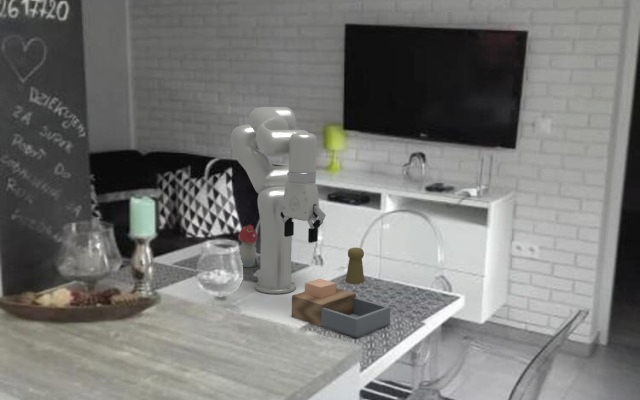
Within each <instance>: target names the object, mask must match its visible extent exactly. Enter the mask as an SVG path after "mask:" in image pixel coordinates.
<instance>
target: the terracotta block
mask: <svg viewBox="0 0 640 400" xmlns="http://www.w3.org/2000/svg"><path fill="white" fill-rule="evenodd" d="M336 286H337V283H336V282H333V281H329V280H325V279H322V278H317V279H313V280H311V281H306V282H304V292H305V294H309V295H312V296H315V297H319V298H323V297H326V296H329V295H333V294H336V288H337V287H336Z"/></svg>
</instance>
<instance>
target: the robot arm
mask: <svg viewBox="0 0 640 400" xmlns="http://www.w3.org/2000/svg"><path fill="white" fill-rule="evenodd" d="M296 121H297V118H296V115H295V113H294V111H293V109H291V108H289V107H287V106H259V107H256V108H254V109H253V110H252V111H251V112H250V114H249V116H248V122H249V124H242V125H239V126H236V127H235V128H234V129H233V130H232V132H231V135H230V145H231V149H232V152H233V155H234V157H235V159H236V160H237V162H238V164H239V165H240V166H241V167H242V168H243V169H244V171H245V172H246V174H247V176H248V178H249V180H250V183H251V184H252V186H253V188H254V190H255V192H256V193H257V194H258V195H257V209H258V214H259V222H260V223H259V225H260V230H259V231H260V248H259V250H260V253H259V255H260V256H259V257H260V260H259V261H260V267H259V269H257V270H256V271H255V272H254V273H253V277H254V278H257V281H256V283H255V284H254V288H255V290H257V291H258V292H260V293H264V294H271V295H272V294H274V295H276V294H277V295H278V294H279V295H281V294H286V293H291V292H293V291H294V290H296V288H297V285H296V283H295V282H294V281H292V239H293V238H292V237H294V232H295V231H294V230H295V229H294V227H295V223H294V222H295V221H293V220H299V221H303V222H305V221H307V224H308V225H309V228H308V234H307V237H308V239H307V240H308V243H309V244H312V243H315V242H318V239H319V238H318V237H319V236H318V234H319V228H320V227H321V225H322V224H323V223H324V220H325V218H326V216H327V215H326V213H325V212H324V211H323V210H322V209H320V206H319V205H320V204H319V203H320V201H319V190H318V184H317V182H316V178H317V177H316V176H317V175H316V174H317V141H318V140H317V136H316V135H315V134H314V133H309V131H307V130H304V129H295V127H296V124H297V123H296ZM269 157H271V158H280V157H281V158H285V157H288V165H279V166H278V165H274V164H273V163H272V161H271V159H270V158H269Z"/></svg>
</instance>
